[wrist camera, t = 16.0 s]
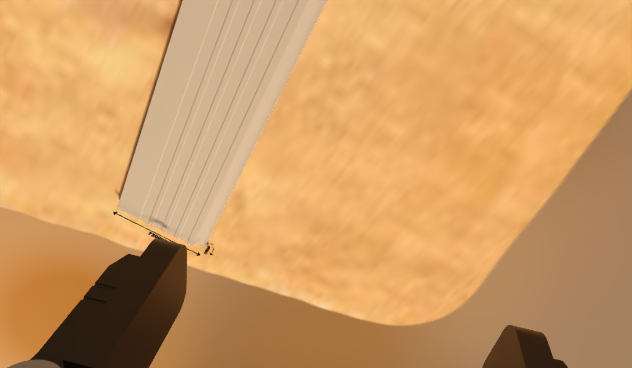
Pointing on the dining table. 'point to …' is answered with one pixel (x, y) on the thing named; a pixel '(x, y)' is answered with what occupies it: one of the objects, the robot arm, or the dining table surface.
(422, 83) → the dining table surface
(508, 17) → the dining table surface
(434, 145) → the dining table surface
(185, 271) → the robot arm
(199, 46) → the baseboard
